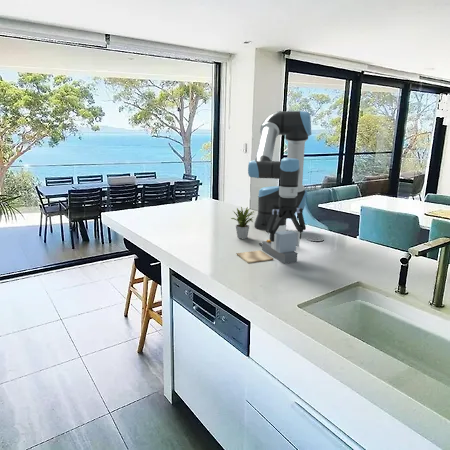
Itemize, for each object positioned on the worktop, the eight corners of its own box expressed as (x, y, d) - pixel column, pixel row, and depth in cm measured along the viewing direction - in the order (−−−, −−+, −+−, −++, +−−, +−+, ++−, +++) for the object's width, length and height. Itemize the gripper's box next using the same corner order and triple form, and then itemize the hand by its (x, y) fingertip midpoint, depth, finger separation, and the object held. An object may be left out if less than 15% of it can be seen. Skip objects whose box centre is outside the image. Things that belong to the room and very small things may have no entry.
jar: (265, 242, 186) (266, 219, 183) (271, 238, 193) (272, 216, 190) (282, 245, 181) (283, 221, 178) (288, 241, 188) (289, 218, 185)
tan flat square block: (260, 251, 172) (260, 250, 171) (273, 259, 161) (273, 258, 161) (236, 254, 167) (236, 253, 167) (247, 263, 156) (248, 261, 156)
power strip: (254, 245, 181) (254, 235, 180) (265, 243, 183) (265, 234, 182) (284, 263, 156) (285, 252, 155) (296, 262, 158) (297, 251, 157)
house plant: (254, 242, 185) (255, 210, 181) (227, 241, 187) (227, 208, 183) (258, 235, 198) (259, 205, 194) (232, 233, 201) (232, 203, 197)
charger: (274, 254, 162) (275, 232, 159) (290, 252, 165) (291, 230, 162) (279, 257, 158) (280, 234, 155) (295, 255, 161) (296, 232, 158)
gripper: (267, 199, 147) (265, 252, 153) (316, 196, 156) (313, 247, 161) (258, 196, 154) (256, 247, 159) (306, 193, 163) (303, 242, 168)
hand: (285, 247), depth 160 cm, fingers open, 11 cm apart
